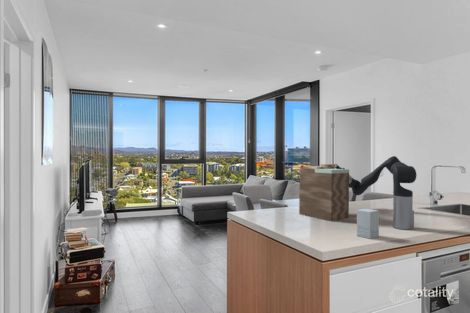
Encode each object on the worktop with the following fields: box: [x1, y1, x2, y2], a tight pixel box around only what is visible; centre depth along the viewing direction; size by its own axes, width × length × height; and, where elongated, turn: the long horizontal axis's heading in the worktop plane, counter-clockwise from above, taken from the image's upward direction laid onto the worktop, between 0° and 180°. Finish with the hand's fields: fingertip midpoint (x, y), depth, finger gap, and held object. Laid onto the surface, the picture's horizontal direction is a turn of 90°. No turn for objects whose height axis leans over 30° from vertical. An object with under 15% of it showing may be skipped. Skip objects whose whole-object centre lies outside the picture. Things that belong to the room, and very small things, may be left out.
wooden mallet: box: [303, 163, 338, 169], centre depth 215 cm, size 25×11×2 cm, turn 125°
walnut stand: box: [298, 167, 350, 222], centre depth 204 cm, size 16×26×30 cm, turn 33°
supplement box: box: [356, 208, 380, 240], centre depth 154 cm, size 7×7×13 cm
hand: (330, 165), depth 217 cm, fingers open, 8 cm apart
